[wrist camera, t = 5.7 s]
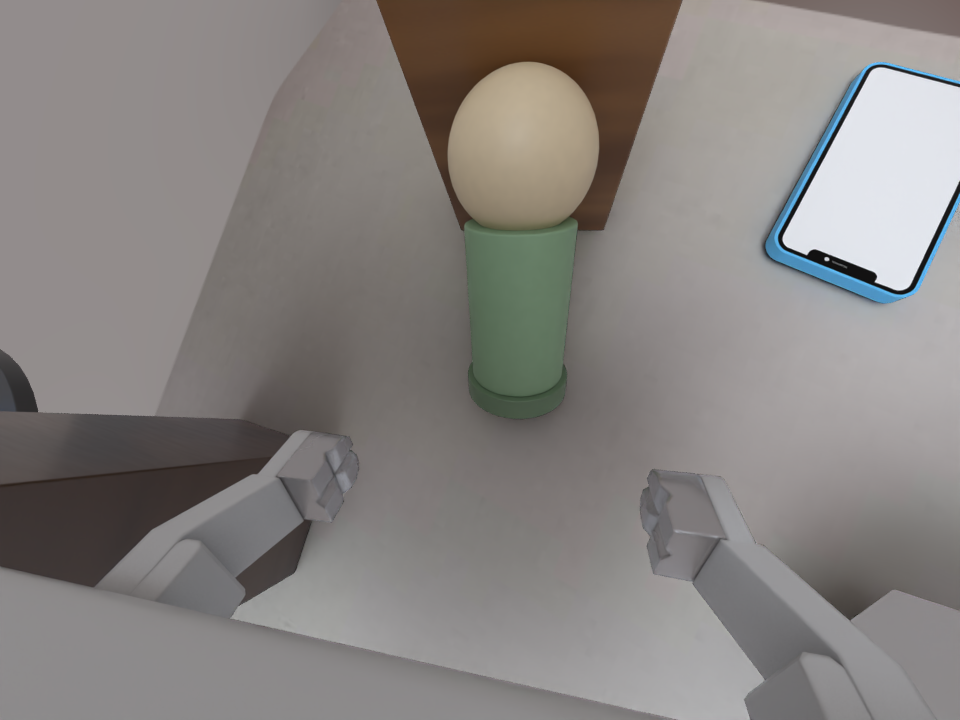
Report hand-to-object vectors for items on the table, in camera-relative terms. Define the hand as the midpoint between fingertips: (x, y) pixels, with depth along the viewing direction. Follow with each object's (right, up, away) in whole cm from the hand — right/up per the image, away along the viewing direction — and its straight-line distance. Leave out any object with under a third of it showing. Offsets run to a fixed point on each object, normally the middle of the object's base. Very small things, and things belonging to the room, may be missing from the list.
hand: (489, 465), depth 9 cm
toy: (+3, +5, +14) cm, 15 cm away
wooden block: (+3, +14, +15) cm, 21 cm away
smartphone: (+24, +14, +12) cm, 30 cm away
